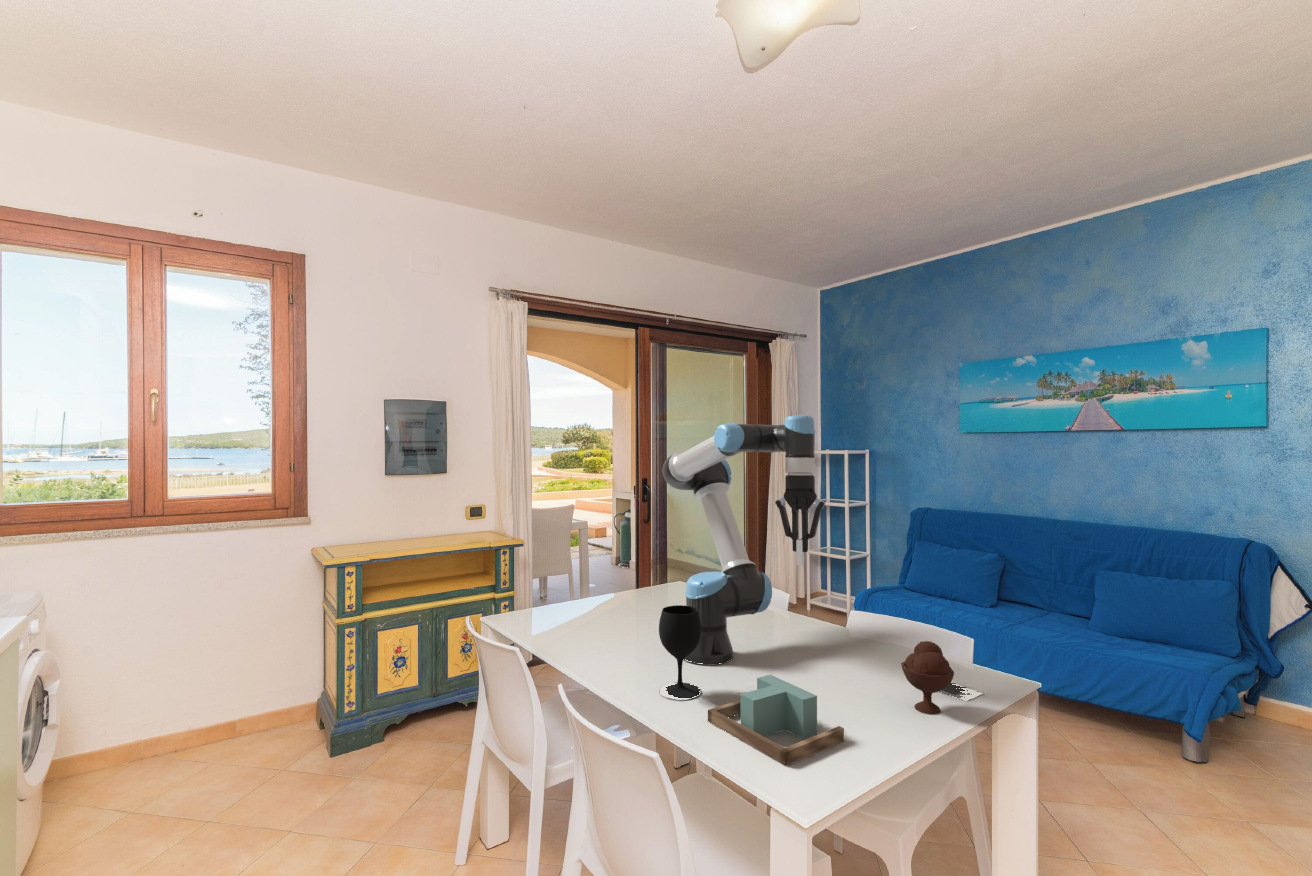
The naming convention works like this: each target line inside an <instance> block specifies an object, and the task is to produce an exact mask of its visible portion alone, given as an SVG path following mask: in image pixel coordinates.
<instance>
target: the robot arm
mask: <svg viewBox="0 0 1312 876" xmlns="http://www.w3.org/2000/svg"><path fill="white" fill-rule="evenodd" d="M815 429H816V428H815V421H814V418H813V417H812V416H811V415H790V416H789V415H788V416H787V417H785V420H784V424H752V423H751V424H749V423H733V422H730V423H723V424H720V425H718V426H717V429H716V430H715V431H714V435H713V436H711V437H709V438H707V439H705V440H704V441H702V442H700V443H698V444H697V445H694V446H693V447H691V448H689V449H687V450H685V451H678V452H675V453H674V454H671V455H670V456H669V457H667V458H666V459H665V461H664V463H663V466H662V476H663V479H664V481H665V482H666V483H667V485H669V486H670V487H671V488H673V489H676V490H680V491H693V495H694V497H695V499H696V500H698V501H700V502H701V504H702V508H703V510H704V513H705V517H706V520H707V523H708V526H709V530H710V532H711V536H712V539H713V543H714V545H715V549H716V552H717V555H718V558H719V561H720V565H721V568H722V570H721V571H713V570H712V571H704V572H699V573H696V574H693V575H692V576H690V577H689V578H688V579H687V582H686V588H685V590H686V591H685V596H686V598H685V600H686V601H685V603H686V605H685V606H691V607H694V608H696V609H697V610H698V613H699V616H700V621H701V637H700V641H699V643H698V645H697V647H696V648H695V650H694V651H693V652H692V653H691V654H689V655H688V656H687V657H685V658H684V659H686V660H688V661H692V662H695V663H703V664H717V665H720V664H719V663H723V664H726V663H728V662H727V661H729V660H731V659H732V660H733V659H734V650H733V649H734V648H733V645H732V642H731V640H730V636H729V633H728V628H727V627H728V626H727V625H728V624H727V622H728V621H727V619H728V618H732V617H733V618H734V617H739V616H745V615H746V616H747V615H755V614H758V613H759V614H760V613H762V612H765V611H766V610H767V609H768V608H769V606H770V604H771V602H772V597H773V587H772V581H771V579H770V577H769V576H768V575H767V574H766V573H764V572H762V571H759V570H758V567H757V564H756V563H755V562H753V561H751V560H750V559H749V556H748V552H747V551H746V550H747V549H746V547H745V544H744V541H743V539H742V536H741V533H740V529H739V527H738V524H737V521H736V518H735V515H734V512H733V510H732V506H731V503H730V500H729V497H728V494H727V493H728V491H729V490H730V485H731V482H732V476H731V475H732V469H731V467H730V464H729V462H728V461H727V459H729V458H730V457H734V456H737V455H738V454H740V453H770V454H772V453H785V455H784V456H785V461H784V463H785V464H784V465H785V469H784V470H785V473H786V474H787V475H785V476H784V477H785V479H784V481H785V482H784V483H785V491H784V493H783V496H782V497H781V498H779V499H777V500H775V505H776V507H777V508H778V510H779V515H780V519H781V523H782V527H783V531H784V535H785V536H786V537H788V538H790V539H791V540H792V551H793V552H796V553H795V554H796V566H804V565H805V553H808V551H809V540H810V539H812V538H813V539H814V538H815V537H816V534H817V531H818V526H819V522H820V517H821V514H822V511H823V509H824V507H825V505H826V502H825V501H824V500H821V499H819V498H818V495H817V494H816V487H815V486H816V483H815V482H816V480H815V475H813V474H815V472H816V470H815V464H816V463H815V462H816V461H815V439H816V438H815V434H816V430H815ZM814 503H815V504H814ZM786 504H788V506H789V507H790V509H791V525H790V520H789V516H788V512H787V509H786ZM813 504H814V507H815V509H814V513H813V519H812V521H811V526H810V530H809V509H810V508H811V507H812V505H813ZM800 510H801V538H799V537H800V534H799V528H800V527H799V524H800V523H799V512H800ZM732 660H731V661H732ZM725 662H726V663H725ZM729 662H730V661H729Z"/></svg>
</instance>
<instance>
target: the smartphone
mask: <svg viewBox="0 0 1312 876" xmlns="http://www.w3.org/2000/svg"><path fill="white" fill-rule="evenodd" d="M952 684H957V683H956V682H953V683H950V684H949V685H948V686H947V687H945V688H944V689H942V690H940V691H939V692H938V693H940V692H942V693H941V694H943V693H944V694H943V695H946V694H947V695H946V696H949V695H951V696H950V697H952V696H954V697H957V698H961V697H963V696H960V695H966V694H965V693H962V692H960V691H965V690H963V689H961V688H967V687H968V686H965V687H960V686H956V685H952ZM956 688H957V689H956ZM959 688H960V689H959ZM967 691H968V690H967ZM967 695H970V693H967ZM971 695H972V694H971ZM954 697H953V698H954ZM957 698H956V699H957ZM964 698H965V697H964Z"/></svg>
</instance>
